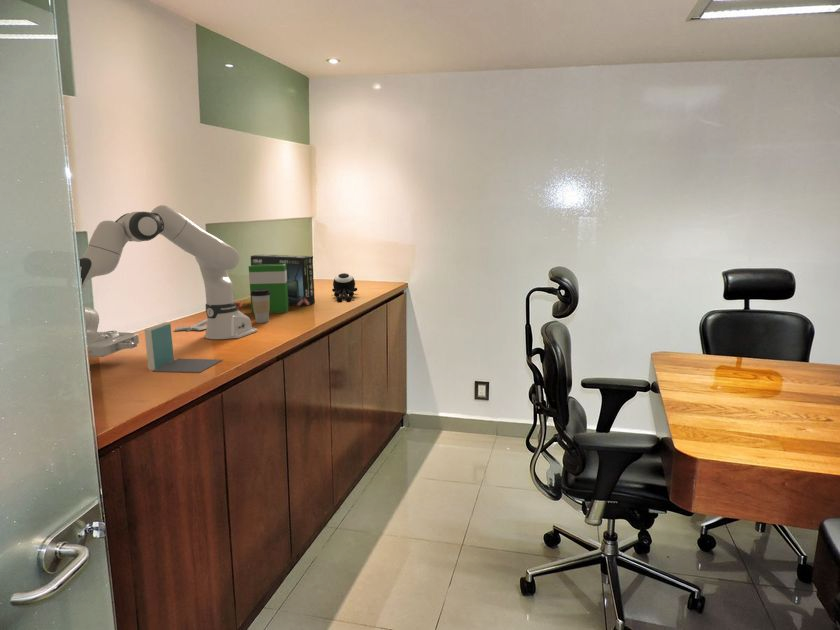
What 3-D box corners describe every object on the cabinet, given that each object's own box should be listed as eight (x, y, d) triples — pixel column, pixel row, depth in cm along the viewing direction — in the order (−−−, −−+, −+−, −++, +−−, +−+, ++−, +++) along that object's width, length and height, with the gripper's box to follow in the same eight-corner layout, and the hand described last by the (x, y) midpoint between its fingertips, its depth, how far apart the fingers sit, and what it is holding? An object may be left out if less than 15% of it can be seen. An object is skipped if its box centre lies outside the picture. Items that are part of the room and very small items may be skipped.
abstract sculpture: (329, 291, 333) (330, 265, 361) (331, 320, 343) (332, 293, 370) (357, 290, 335) (356, 265, 362) (358, 319, 344) (357, 292, 372)
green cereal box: (251, 313, 308) (248, 266, 303) (254, 310, 315) (251, 264, 310) (286, 312, 309) (284, 265, 304) (288, 309, 316) (286, 263, 312)
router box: (251, 303, 339) (248, 255, 334) (264, 300, 349) (261, 253, 344) (305, 306, 325) (302, 256, 320) (316, 303, 335) (314, 255, 330)
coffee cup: (257, 324, 278) (255, 292, 275) (248, 321, 285) (246, 290, 282) (276, 321, 284) (274, 290, 281) (266, 319, 291) (264, 288, 288)
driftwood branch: (200, 320, 295) (199, 315, 294) (227, 319, 294) (227, 314, 293) (172, 333, 265) (171, 327, 265) (202, 332, 264) (202, 327, 264)
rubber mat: (152, 371, 202) (152, 370, 202) (178, 359, 217) (178, 358, 217) (199, 372, 199) (199, 371, 199) (222, 360, 215) (222, 359, 215)
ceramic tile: (148, 369, 204) (144, 329, 202) (168, 360, 216) (164, 322, 213) (155, 370, 204) (151, 329, 201) (174, 360, 216) (171, 322, 213)
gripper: (76, 342, 202) (114, 343, 200) (116, 329, 222) (150, 330, 219) (79, 360, 203) (116, 361, 201) (117, 346, 223) (152, 347, 221)
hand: (134, 345), depth 210 cm, fingers closed
